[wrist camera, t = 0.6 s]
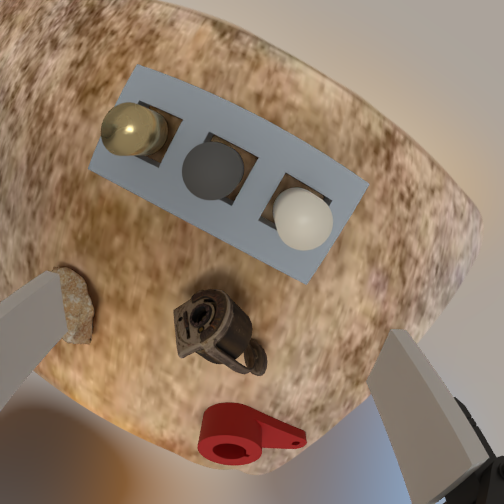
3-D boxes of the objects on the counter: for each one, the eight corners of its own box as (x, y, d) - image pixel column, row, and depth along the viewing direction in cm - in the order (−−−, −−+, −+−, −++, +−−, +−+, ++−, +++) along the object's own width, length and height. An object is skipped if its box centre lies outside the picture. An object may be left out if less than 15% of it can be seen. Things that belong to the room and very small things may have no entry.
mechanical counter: (214, 257, 32) (196, 299, 22) (296, 323, 34) (308, 379, 24) (177, 299, 33) (151, 349, 24) (256, 357, 36) (256, 415, 26)
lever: (196, 425, 41) (190, 455, 35) (213, 394, 39) (208, 428, 32) (291, 448, 43) (293, 476, 37) (318, 421, 40) (323, 451, 34)
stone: (57, 314, 36) (38, 328, 32) (60, 258, 32) (37, 270, 28) (96, 344, 36) (78, 362, 31) (104, 290, 32) (81, 306, 27)
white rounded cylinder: (263, 219, 27) (265, 233, 22) (287, 178, 25) (294, 183, 21) (304, 242, 27) (313, 260, 22) (328, 202, 26) (343, 212, 21)
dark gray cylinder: (187, 179, 25) (172, 184, 21) (209, 136, 24) (198, 131, 19) (229, 201, 26) (223, 210, 21) (252, 158, 25) (251, 158, 20)
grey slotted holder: (101, 167, 28) (87, 168, 25) (147, 71, 25) (137, 64, 22) (302, 273, 32) (306, 284, 29) (359, 181, 28) (369, 184, 26)
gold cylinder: (119, 145, 24) (93, 144, 20) (138, 104, 23) (115, 95, 18) (155, 162, 25) (133, 164, 20) (176, 120, 24) (158, 113, 19)
